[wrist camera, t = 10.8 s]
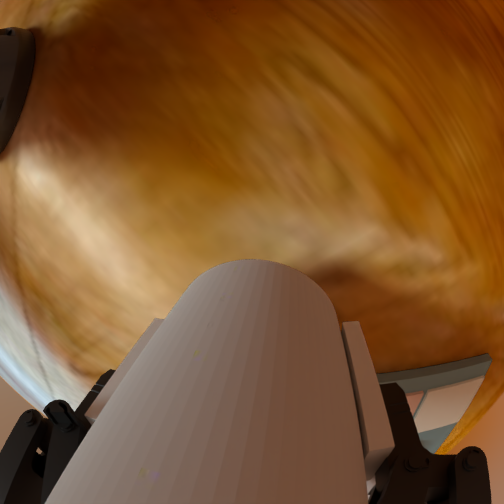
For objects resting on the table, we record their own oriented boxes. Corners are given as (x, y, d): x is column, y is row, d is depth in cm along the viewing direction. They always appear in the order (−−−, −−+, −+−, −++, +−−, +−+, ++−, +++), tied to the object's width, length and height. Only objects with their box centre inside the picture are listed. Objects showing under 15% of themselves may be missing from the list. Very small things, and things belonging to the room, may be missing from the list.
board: (263, 478, 25) (259, 501, 21) (252, 376, 19) (244, 414, 15) (419, 463, 22) (424, 484, 18) (487, 353, 15) (506, 379, 12)
